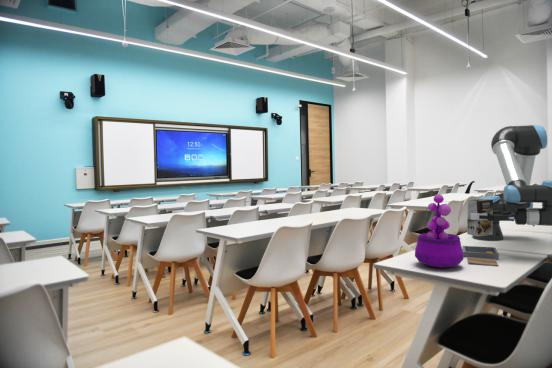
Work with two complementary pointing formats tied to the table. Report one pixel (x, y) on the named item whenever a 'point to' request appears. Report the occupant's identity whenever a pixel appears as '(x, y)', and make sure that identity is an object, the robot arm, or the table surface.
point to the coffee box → (480, 225)
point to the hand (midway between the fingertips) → (470, 214)
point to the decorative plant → (439, 240)
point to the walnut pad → (482, 261)
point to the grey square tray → (480, 252)
